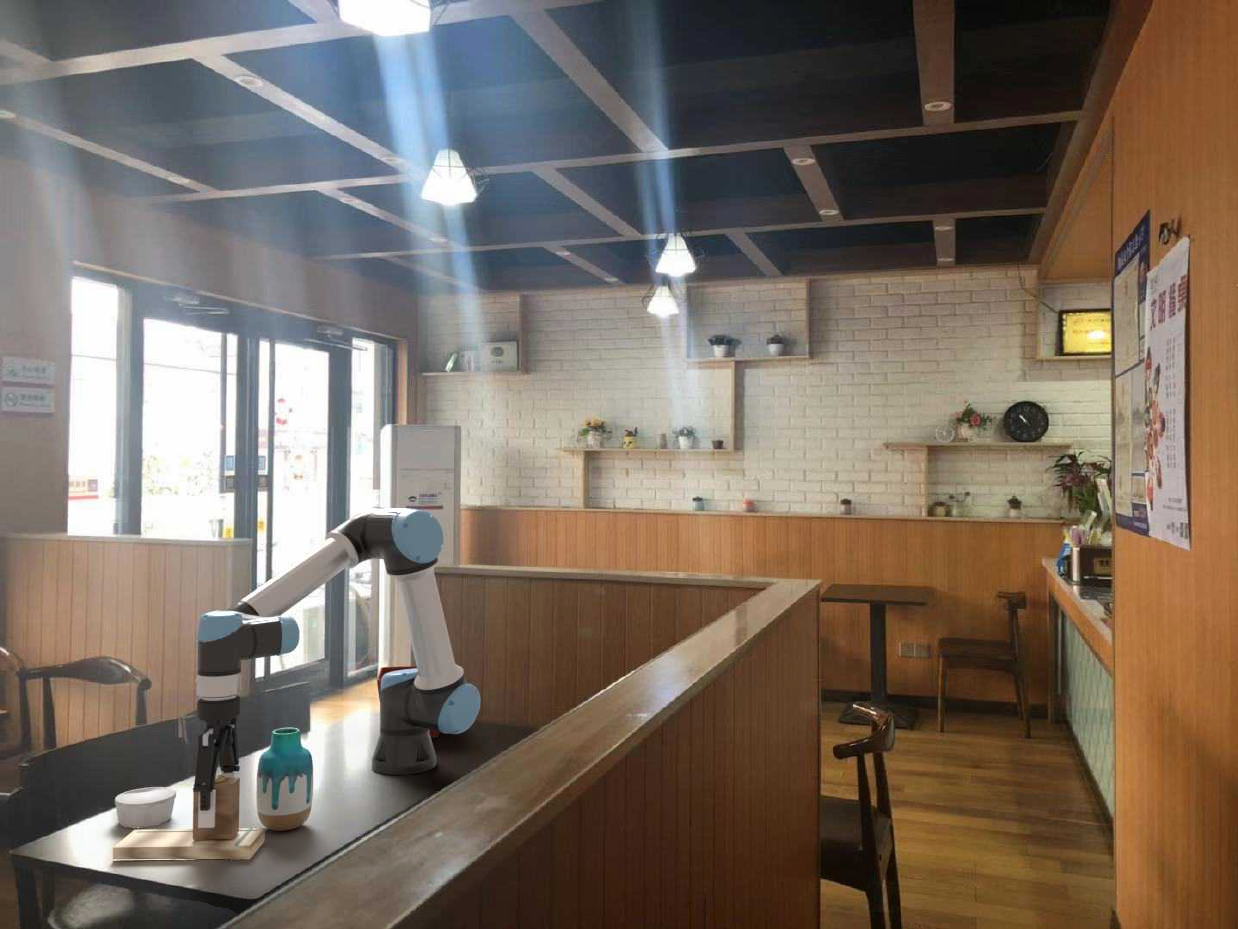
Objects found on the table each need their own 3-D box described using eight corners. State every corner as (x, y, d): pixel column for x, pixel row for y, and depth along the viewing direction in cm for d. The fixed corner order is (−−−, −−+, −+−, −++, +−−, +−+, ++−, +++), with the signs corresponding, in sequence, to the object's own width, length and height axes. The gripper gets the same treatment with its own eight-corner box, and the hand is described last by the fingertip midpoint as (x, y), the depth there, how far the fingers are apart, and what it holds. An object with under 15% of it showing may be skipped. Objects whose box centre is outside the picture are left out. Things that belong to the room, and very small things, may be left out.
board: (264, 841, 185) (264, 827, 185) (249, 859, 176) (250, 845, 176) (134, 843, 184) (134, 829, 184) (112, 861, 175) (113, 847, 175)
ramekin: (160, 808, 204) (160, 782, 204) (186, 820, 197) (186, 794, 197) (104, 822, 195) (104, 795, 195) (129, 835, 188) (130, 807, 188)
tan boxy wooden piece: (244, 824, 186) (245, 769, 186) (231, 839, 179) (232, 781, 179) (207, 825, 186) (208, 769, 186) (192, 839, 178) (193, 781, 178)
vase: (280, 842, 185) (281, 740, 185) (244, 831, 191) (245, 732, 191) (324, 825, 194) (325, 729, 194) (288, 815, 200) (290, 721, 200)
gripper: (218, 683, 192) (216, 797, 191) (174, 710, 169) (172, 839, 169) (257, 683, 192) (255, 797, 192) (218, 710, 170) (216, 839, 169)
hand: (216, 817), depth 180 cm, fingers open, 10 cm apart
